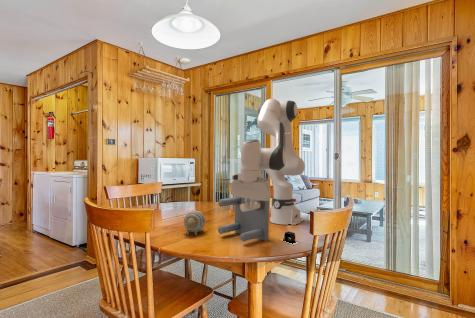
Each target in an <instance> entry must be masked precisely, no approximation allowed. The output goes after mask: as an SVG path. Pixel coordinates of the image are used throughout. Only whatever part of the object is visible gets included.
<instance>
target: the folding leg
mask: <svg viewBox="0 0 475 318" xmlns="http://www.w3.org/2000/svg"><path fill="white" fill-rule="evenodd" d="M250 203H251V202H250ZM240 209H241V211H242V212H244V211H250V210H256V211H259V210H261V200H256V202H255V204H254V208H253V209H247V205H246V203H243V204H241V205H240Z"/></svg>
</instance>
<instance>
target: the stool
mask: <svg viewBox="0 0 475 318" xmlns="http://www.w3.org/2000/svg"><path fill="white" fill-rule="evenodd" d="M249 201H250V200H249ZM250 202H251V201H250ZM243 203H246V202H245V198H242V197H236V196H233V197H229V198H221V199H218V206H219V207H221V208H222V207H228V206H234V223H230V224H225V225H220V226H218V228H217V232H218V233H219V234H220V235H223V234H226V233H231V232H235V233H238V234H240V240H241V241H242V242H247V241H249V240H253V239H258V240H261V241H264V242H266V241H269V229H270V228H269V227H270V226H269V225H270V223H269V221H270V200H268V201H261V210H259V211H256V210H250V211H244V212H242V211H241V209H240V205H241V204H243Z"/></svg>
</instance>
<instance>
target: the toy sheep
mask: <svg viewBox="0 0 475 318" xmlns="http://www.w3.org/2000/svg"><path fill="white" fill-rule="evenodd" d="M183 225H184V228H185V229H186V235H187V236H189V235H190V233H194V236H197V235H198V232H202V231H203V229H204V227H205V225H206V217H205V215H204V213H202V212H201V211H200V210H192V211H189V212H188V213H187V214H186V215H185V217H184V218H183Z"/></svg>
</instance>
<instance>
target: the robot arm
mask: <svg viewBox="0 0 475 318" xmlns="http://www.w3.org/2000/svg"><path fill="white" fill-rule="evenodd" d="M298 109H299V108H298V105H297V103H296V102H295V101H294V100H277V99H276V98H269V99H266V100H265V101H264V103H262V104H260V106H259V107H258V110H257V114H258V117H257V122H256V123H257V127H258V129H259V130H260V131H262V133H264V134H266V135H270V136H272V137H273V139H272V141H273V142H272V143H273V147H261V142H260V140H259V139H246V140H244V141H242V144H241V150H240V163H241V166H240V171H239V172H238V173H236V174H233V175H232V176H231V180H232V182H231V187H230V188H231V191H230V192H231V196H232V197H235V196H236V197H242V198H245V202H246V205H247V209H253V208H254V204H255V202H256V200H261V201H268V200H269V201H270V200H271V198H272V206H271V211H270V216H269V221H270V223H272V224H277V225H287V226H288V224H291V226H292V225H293V226H294V225H295V226H297V225H298V224H300V223H302V222H304V221H305V218H304V217H301V211H300V209H299V208H298V207H296V205H295V203H297V198H293V185H292V184H291V183H290V182H289V181H287V180H286V178H285V176H290V177H292V176H300V175H302V174H303V173H304V171H305V168H306V165H305V162H304V160H303V158H302V157H300V155H298V154H297V152H296V151H295V148H294V143H293V127H292V122H293V120H295V119H296V118H297V116H298V113H299V112H298ZM262 170H264V172H265V173H266V174H267V175H268V176H269V178H270V179H271V182H272V186H273V188H272V189H273V197H272V193H271V182H270V180H269V179H268V178H267V177H262ZM249 200H250V201H251V203H250V201H249ZM303 220H304V221H303ZM301 221H302V222H301ZM296 224H297V225H296Z"/></svg>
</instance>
